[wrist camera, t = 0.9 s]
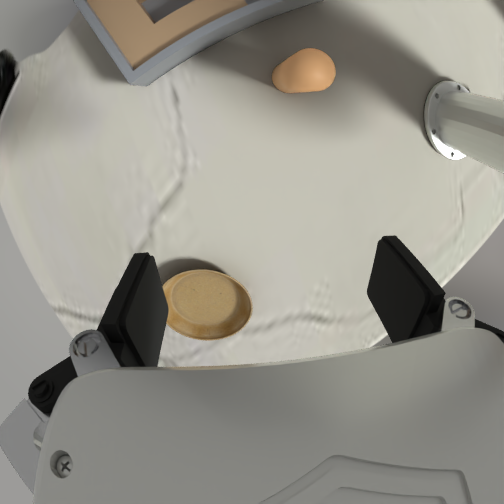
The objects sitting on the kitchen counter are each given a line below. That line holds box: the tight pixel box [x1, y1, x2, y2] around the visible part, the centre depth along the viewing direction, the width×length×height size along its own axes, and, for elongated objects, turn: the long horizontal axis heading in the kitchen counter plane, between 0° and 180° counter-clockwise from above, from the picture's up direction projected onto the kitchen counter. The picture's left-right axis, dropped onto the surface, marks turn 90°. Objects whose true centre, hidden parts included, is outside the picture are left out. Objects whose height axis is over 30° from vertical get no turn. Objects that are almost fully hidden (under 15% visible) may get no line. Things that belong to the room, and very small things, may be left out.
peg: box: [272, 48, 336, 93], centre depth 23 cm, size 4×4×10 cm
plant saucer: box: [162, 269, 253, 340], centre depth 42 cm, size 15×15×3 cm
